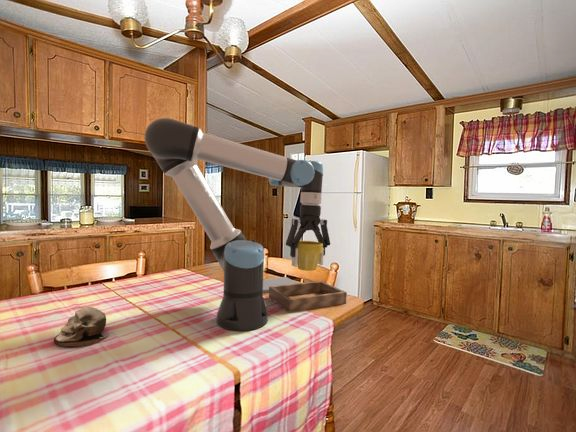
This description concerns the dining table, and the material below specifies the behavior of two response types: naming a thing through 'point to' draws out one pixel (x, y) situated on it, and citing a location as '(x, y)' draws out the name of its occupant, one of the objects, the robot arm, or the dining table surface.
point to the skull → (82, 328)
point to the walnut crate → (296, 304)
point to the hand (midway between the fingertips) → (307, 265)
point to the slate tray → (276, 283)
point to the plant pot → (308, 255)
